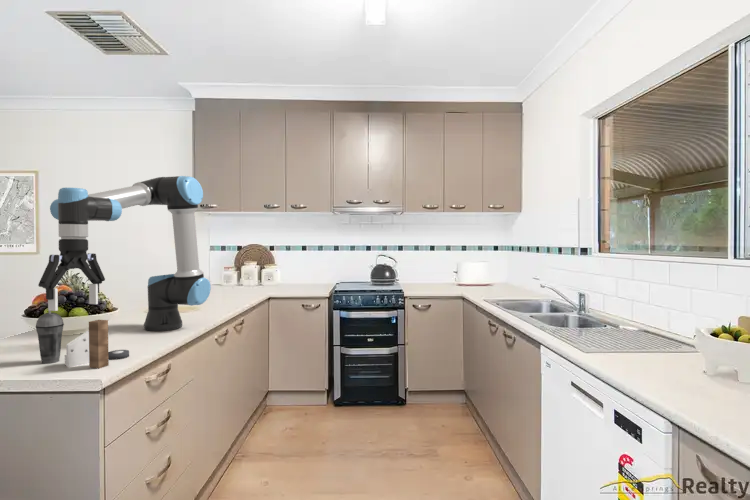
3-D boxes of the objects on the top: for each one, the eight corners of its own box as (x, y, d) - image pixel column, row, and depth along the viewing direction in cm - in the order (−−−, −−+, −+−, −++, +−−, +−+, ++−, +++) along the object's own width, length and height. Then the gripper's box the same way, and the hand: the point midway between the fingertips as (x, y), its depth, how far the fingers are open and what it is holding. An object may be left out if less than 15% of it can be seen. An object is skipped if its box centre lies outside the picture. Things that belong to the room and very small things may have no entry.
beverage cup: (64, 357, 143) (63, 296, 143) (64, 362, 137) (63, 299, 137) (36, 360, 139) (35, 298, 139) (35, 366, 133) (33, 301, 133)
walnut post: (99, 364, 136) (98, 319, 135) (108, 365, 135) (107, 320, 134) (89, 367, 132) (88, 321, 132) (98, 368, 131) (98, 322, 131)
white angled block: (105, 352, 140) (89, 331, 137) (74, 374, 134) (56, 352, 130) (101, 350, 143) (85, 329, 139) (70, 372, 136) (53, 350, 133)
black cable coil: (118, 353, 148) (117, 348, 148) (133, 355, 146) (133, 350, 146) (101, 358, 142) (101, 353, 142) (117, 360, 140) (117, 355, 140)
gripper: (98, 238, 148) (99, 301, 148) (22, 238, 123) (23, 313, 124) (116, 238, 146) (117, 302, 146) (42, 238, 122) (43, 314, 122)
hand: (74, 307), depth 135 cm, fingers open, 13 cm apart
